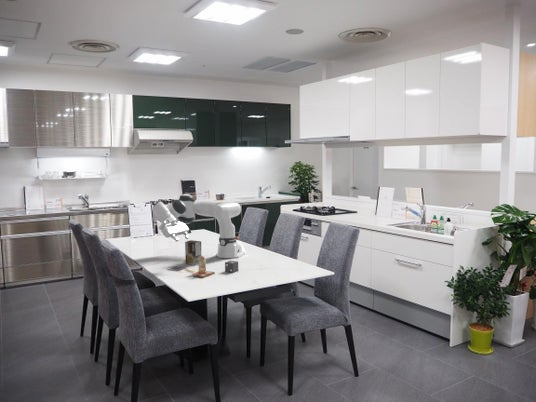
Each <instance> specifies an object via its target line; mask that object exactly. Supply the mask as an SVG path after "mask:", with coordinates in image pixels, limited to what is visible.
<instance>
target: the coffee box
mask: <svg viewBox="0 0 536 402" xmlns="http://www.w3.org/2000/svg"><path fill="white" fill-rule="evenodd" d="M184 246H185V247H184V248H185V249H184V250H185V253H184V256H185V264H187V265H192V266H199V261H198V260H200V259H199V258H200V256H202V241H199V240H192V239H191V240H187V241H184Z"/></svg>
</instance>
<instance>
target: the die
mask: <svg viewBox="0 0 536 402" xmlns="http://www.w3.org/2000/svg"><path fill="white" fill-rule="evenodd" d="M238 271H239V261H237V260H228V261H225V262H224V272H225V273H232V274H233V273H236V272H238Z"/></svg>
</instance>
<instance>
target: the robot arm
mask: <svg viewBox="0 0 536 402" xmlns="http://www.w3.org/2000/svg"><path fill="white" fill-rule="evenodd" d="M151 209H152V212H153V213H154V215H155V216H156V218H157V219H158V221H159V222H160V225H159V226H158V230H160V232H161V233H162V235H163V236H164V237H165V238H171V239H173V240H174V241H175V242H179V241H180V238H179V237H177V236H181V235H184V238H185V239H186V240H189V235H188V233H189V231H190V228H189V227H188V225H187V224H191V223H193V222H194V219H195V214H196V215H199V216H202V217H212V218H215V219H216V220H217V223H218V226H219V229H218V230H219V237H218V242H219V243H218V245H217V253H216V256H217V257H218V258H220V259H235V258H237V259H239V258H240V257H242V256H244V255H245V254H246V252H245V251H243V248H242V245H241V244H240V243H239V242H238V241H237V240H239V236H236V227H235V225H234V223H233V222H232V220H231V219H232V218H235V217H237V216H239V215H241V212H242V206H241V205H240V203H239V202H233V201H204V200H202V201H197V199H196V198H195V197H194V196H193V195H191V194H190V193H183V194H181V195H179V198H178V199H175V200H173V201H172V203H169V204H168V205H166V204H164V202H163V201H158V202H156V203H154V205H153V206H152V207H151Z"/></svg>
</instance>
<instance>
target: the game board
mask: <svg viewBox="0 0 536 402" xmlns="http://www.w3.org/2000/svg"><path fill="white" fill-rule="evenodd" d="M166 271H171V272H176V273H177V272H179V273H182V274H183V273H184V274H189V275H194V276H192V277H194V278H200V279H205V278H207V277H210V276H212V275H215V271H211V270H206V273H205V274H199V269H197V268H196V269H195V268H188V267H183V266H182V267H181V266H177V265H176V266H174V267H171V268H168V269H166Z"/></svg>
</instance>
